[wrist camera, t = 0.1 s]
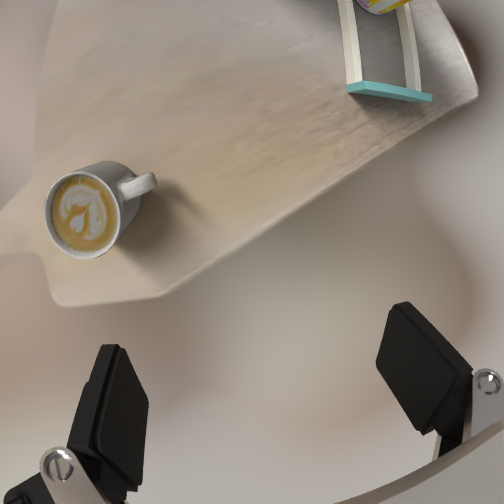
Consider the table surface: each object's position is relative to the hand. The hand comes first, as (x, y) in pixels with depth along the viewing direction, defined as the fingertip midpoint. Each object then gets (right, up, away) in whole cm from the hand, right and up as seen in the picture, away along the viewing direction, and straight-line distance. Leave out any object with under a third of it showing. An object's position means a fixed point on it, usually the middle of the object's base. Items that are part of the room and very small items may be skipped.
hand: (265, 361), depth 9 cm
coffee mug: (-19, +12, +27) cm, 34 cm away
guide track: (+19, +37, +21) cm, 47 cm away
